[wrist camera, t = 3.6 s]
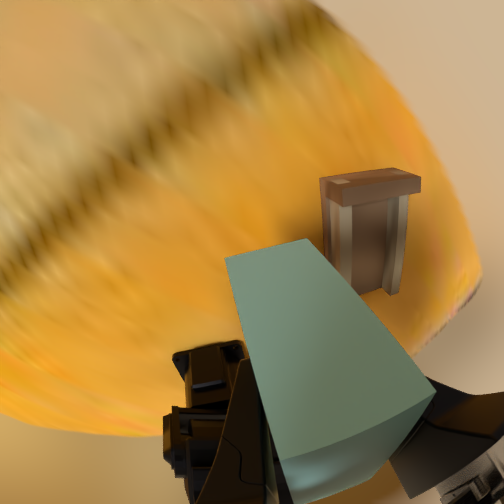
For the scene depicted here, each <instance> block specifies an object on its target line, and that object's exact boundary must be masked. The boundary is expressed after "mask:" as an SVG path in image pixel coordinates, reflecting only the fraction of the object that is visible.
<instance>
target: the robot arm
mask: <svg viewBox="0 0 504 504" xmlns="http://www.w3.org/2000/svg"><path fill="white" fill-rule="evenodd" d="M234 346H236V347H234ZM177 358H179V359H177ZM172 361H173V363H174V364H175V366H176V368H177V370H178V372H179V373H180V375H181V377H182V379H183V380H184V382H185V395H186V408H180V407H178V406H172V414H171V413H169V414H168V415H166V416H163V457H164V459H165V460H166V461H167V462H168V463H169V464H170V465H171V467H172V469H173V470H174V473H175V478H184V485H185V490H186V494H187V496H188V500H189V503H190V504H294V503H293V500H292V497H291V494H290V491H289V488H288V485H287V482H286V479H285V475H284V472H283V469H282V466H281V463H280V460H279V457H278V453H277V450H276V447H275V443H274V440H273V437H272V433H271V430H270V427H269V423H268V420H267V417H266V413H265V410H264V406H263V403H262V399H261V396H260V392H259V389H258V385H257V381H256V378H255V374H254V371H253V367H252V363H251V360H250V358H246V359H245V357H244V353H243V350H242V346H241V343H240V342H239V341H232V342H228V343H223V344H219V345H215V346H210V347H205V348H200V349H196V350H191V351H186V352H180V353H175V354H173V356H172ZM425 377H426V376H425ZM426 378H427V380H428V381H429V382H430V383H431V385H432V386H433V387H434V389H435V390H436V393H435V395H434V396H433V398H432V400H431V401H430V403H429V404H428V406H427V408H426V409H425V411H424V412H423V414H422V415H421V417H420V418H419V419H418V421H417V422H416V424H415V425H414V427H413V428H412V429H411V431H410V432H409V433H408V435H407V436H406V437H405V439H404V440H403V441H402V443H401V444H400V445H399V446H398V448H397V449H396V450H395V451H394V453H393V454H392V455H391V456H390V457H389V461H390V463H391V465H392V467H393V469H394V471H395V472H396V474H397V476H398V478H399V480H400V482H401V484H402V486H403V487H404V489H405V491H406V493H407V494H408V497H409V498H410V499H412V498H414V497H416V496H418V495H420V494H422V493H424V492H425V491H427V490H429V489H431V488H432V487H434V486H435V487H436V489H437V491H438V493H439V495H440V497H441V498H440V501H441V503H442V504H504V392H498V393H491V394H483V395H472V394H467V393H464V392H462V391H459V390H456V389H454V388H451V387H449V386H446V385H444V384H441V383H439V382H437V381H434V380H432V379H430V378H428V377H426Z"/></svg>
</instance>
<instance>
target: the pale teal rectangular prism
mask: <svg viewBox="0 0 504 504" xmlns="http://www.w3.org/2000/svg"><path fill="white" fill-rule="evenodd" d="M225 262H226V266H227V270H228V274H229V279H230V283H231V287H232V291H233V295H234V299H235V303H236V306H237V310H238V314H239V318H240V322H241V326H242V330H243V333H244V337H245V341H246V345H247V349H248V352H249V356H250V360H251V363H252V367H253V371H254V374H255V378H256V381H257V385H258V389H259V392H260V396H261V399H262V403H263V406H264V410H265V413H266V417H267V420H268V423H269V427H270V430H271V433H272V437H273V440H274V443H275V447H276V450H277V453H278V457H279V460H280V463H281V466H282V469H283V472H284V475H285V479H286V482H287V485H288V488H289V491H290V494H291V497H292V500H293V503H294V504H306V503H309V502H312V501H316V500H318V499H322V498H325V497H327V496H330V495H333V494H336V493H338V492H341V491H344V490H346V489H349V488H351V487H353V486H356V485H358V484H361V483H363V482H365V481H367V480H369V479H371V477H373V475H374V474H375V473H376V472H377V471H378V470H379V469H380V468H381V467H382V465H383V464H384V463H385V462H386V461H387V460H388V459H389V457H390V456H391V455H392V454H393V453H394V451H395V450H396V449H397V448H398V446H399V445H400V444H401V443H402V441H403V440H404V439H405V437H406V436H407V435H408V433H409V432H410V431H411V429H412V428H413V427H414V425H415V424H416V422H417V421H418V419H419V418H420V417H421V415H422V414H423V412H424V411H425V409H426V408H427V406H428V404H429V403H430V401H431V400H432V398H433V396H434V395H435V393H436V390H435V389H434V387H433V386H432V385H431V383H430V382H429V381H428V380H427V378H426V377H425V376H424V374H423V373H422V372H421V371H420V369H419V368H418V367H417V365H416V364H415V363H414V362H413V360H412V359H411V358H410V356H409V355H408V354H407V353H406V351H405V350H404V349H403V348H402V346H401V345H400V344H399V343H398V341H397V340H396V339H395V338H394V337H393V335H392V334H391V333H390V332H389V331H388V329H387V328H386V327H385V326H384V324H383V323H382V322H381V321H380V320H379V319H378V317H377V316H376V315H375V314H374V313H373V311H372V310H371V309H370V308H369V307H368V306H367V304H366V303H365V302H364V301H363V300H362V299H361V297H360V296H359V295H358V294H357V293H356V292H355V291H354V289H353V288H352V287H351V286H350V285H349V284H348V283H347V282H346V280H345V279H344V278H343V277H342V276H341V275H340V274H339V273H338V271H337V270H336V269H335V268H334V267H333V266H332V265H331V264H330V263H329V262H328V260H327V259H326V258H325V257H324V256H323V255H322V254H321V253H320V252H319V251H318V250H317V248H316V247H315V246H314V245H313V244H312V243H311V242H310V241H309V240H308V239H307V238H305V239H301V240H297V241H293V242H289V243H285V244H281V245H276V246H272V247H268V248H264V249H260V250H256V251H252V252H247V253H243V254H239V255H235V256H231V257H227V258H225Z"/></svg>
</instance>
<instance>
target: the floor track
mask: <svg viewBox="0 0 504 504" xmlns="http://www.w3.org/2000/svg"><path fill="white" fill-rule="evenodd" d="M319 180H320V191H321V204H322V219H323V237H324V257H325V258H326V259H327V260H328V262H329V263H330V264H331V265H332V266H333V267H334V268H335V269H336V270H337V271H338V273H339V274H340V275H341V276H342V277H343V278H344V279H345V280H346V282H347V283H348V284H349V285H350V286H351V287H352V288H353V289H354V291H355V292H356V293H357V294H358V295H361V294H364V293H367V292H370V291H373V290H376V289H378V288H381V287H382V288H383V289H384V290H385V291H386V292H387V293H388V294H389V295H390V296H391V295H394V294H396V293H398V292H399V286H400V280H401V273H402V266H403V258H404V250H405V240H406V229H407V215H408V195H409V194H414V193H420V192H421V177H420V176H417V175H414V174H411V173H408V172H405V171H402V170H399V169H396V168H386V169H378V170H370V171H363V172H355V173H348V174H341V175H335V176H328V177H322V178H319Z"/></svg>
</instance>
